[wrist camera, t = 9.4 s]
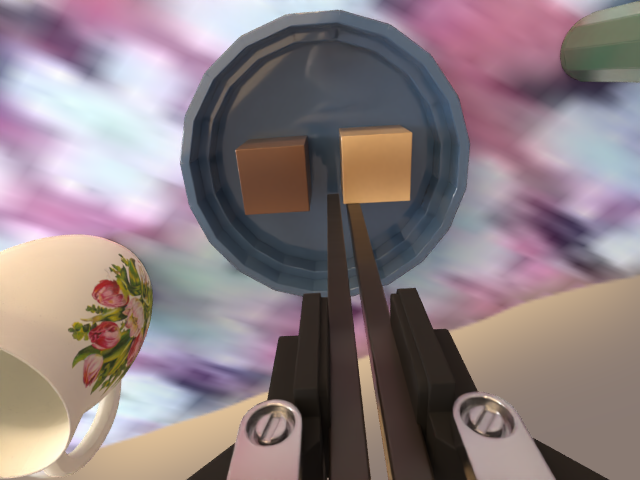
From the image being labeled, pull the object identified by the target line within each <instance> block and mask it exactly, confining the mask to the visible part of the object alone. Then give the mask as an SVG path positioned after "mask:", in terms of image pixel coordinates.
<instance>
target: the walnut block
mask: <svg viewBox="0 0 640 480" xmlns="http://www.w3.org/2000/svg"><path fill="white" fill-rule="evenodd" d="M235 152H236V159H237V165H238V171H239V178H240V184H241V191H242V197H243V204H244V210H245V215H254V214H270V213H287V212H304V211H310V204H311V196H312V186H311V174H310V161H309V149H308V136H307V135H305V136H291V137H276V138H262V139H249V140H247V141H246V142H245V143H243V144H242V145H241V146H240V147H238V148H237V149H236V150H235Z"/></svg>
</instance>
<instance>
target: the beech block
mask: <svg viewBox="0 0 640 480" xmlns="http://www.w3.org/2000/svg"><path fill="white" fill-rule="evenodd" d="M339 141H340V167H341V188H342V195H343V203H344V204H355V203H374V202H393V201H410V188H411V158H412V132H411V131H409V130H407V129H406V128H404V127H402V126H401V125H387V126H370V127H354V128H339Z"/></svg>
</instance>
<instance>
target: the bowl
mask: <svg viewBox="0 0 640 480" xmlns="http://www.w3.org/2000/svg"><path fill="white" fill-rule="evenodd" d="M387 125H401V126H402V127H404V128H406V129H407V130H409V131H411V132H412V158H411V188H410V201H393V202H374V203H360V206H361V210H362V213H363V217H364V221H365V224H366V228H367V232H368V235H369V239H370V243H371V246H372V250H373V254H374V257H375V261H376V265H377V268H378V272H379V276H380V279H381V283H382V286H385V285H388V284H390V283H392V282H393V281H394V280H396V279H397V278H399V277H400V276H402V275H403V274H405V273H406V272H408V271H409V270H411V269H412V268H414V267H415V266H417V265H418V264H419V263H421V262H422V261H423V260H424V259H425V258H426V257H427V256H428V254H429V253H430V252H431V251H432V249H433V248H434V247H435V246H436V245H437V243H438V242H439V241H440V240H441V239H442V237H443V236H444V235H445V234H446V232H447V231H448V230H449V228H450V226H451V224H452V221H453V219H454V217H455V214H456V212H457V209H458V207H459V205H460V202H461V200H462V197H463V195H464V192H465V190H466V185H467V174H468V162H469V150H470V141H469V137H468V133H467V129H466V125H465V121H464V117H463V113H462V109H461V105H460V100H459V98H458V95H457V94H456V92H455V90H454V89H453V87H452V86H451V84H450V83H449V81H448V80H447V78H446V77H445V75H444V74H443V72H442V71H441V69H440V67H439V66H438V64H437V63H436V61H435V60H434V58H433V57H432V56H431V54H429V53H428V52H427V51H425V50H424V49H423V48H421V47H420V46H419V45H417V44H416V43H415V42H413V41H412V40H411V39H409V38H408V37H407V36H405V35H404V34H403V33H401V32H400V31H399V30H397V29H396V28H395V27H393V26H392V25H389V24H387V23H384V22H381V21H377V20H374V19H370V18H367V17H363V16H360V15H356V14H353V13H349V12H346V11H342V10H340V11H339V10H330V11H318V12H306V13H294V14H288V15H287V14H286V15H284V16H282V17H280V18H278V19H275V20H273V21H271V22H269V23H267V24H265V25H263V26H261V27H259V28H256V29H254V30H252V31H250V32H248V33H246V34H244V35H242V36H241V37H239V38H238V39H237V40H236V41H235V42H234V43H233V44H232V45H231V46H230V47H229V48H228V49H227V50H226V51H225V52H224V53H223V54H222V55H221V56H220V57H219V59H218V60H217V61H216V62H215V63H214V64H213V65H212V66H211V67H210V68H209V69H208V70H207V71H206V72H205V73H204V75H203V77H202V80H201V82H200V84H199V86H198V88H197V91H196V93H195V95H194V97H193V99H192V101H191V104H190V106H189V108H188V110H187V112H186V114H185V118H184V127H183V137H182V147H181V156H180V162H181V163H180V165H181V170H182V175H183V179H184V184H185V189H186V193H187V198H188V203H189V205H190V208H191V210H192V212H193V214H194V215H195V217H196V219H197V221H198V223H199V224H200V226H201V228H202V230H203V231H204V233H205V235H206V237H207V239H208V240H209V242H210V243H211V244H212V245H213V246H214V247H215V248H216V249H217V250H218V251H219V252H220V253H221V254H222V255H223V256H224V257H225V258H226V259H227V260H228V261H229V262H230V263H231V264H232V265H233V266H234V267H235V268H236V269H237V270H238V271H240V272H242V273H243V274H245V275H247V276H249V277H251V278H253V279H255V280H256V281H258V282H260V283H262V284H264V285H266V286H268V287H269V288H271V289H273V290H276V291H280V292H285V293H289V294H294V295H298V296H303V294H306V293H321V297H328V264H327V194H339V198H340V207H341V216H342V225H343V234H344V243H345V252H346V261H347V270H348V279H349V288H350V297H351V296H355V295H358V294H360V293H359V287H358V280H357V274H356V268H355V261H354V255H353V248H352V242H351V235H350V229H349V223H348V216H347V210H346V204H344V203H343V195H342V188H341V167H340V141H339V128H354V127H370V126H387ZM305 135H307V136H308V149H309V161H310V174H311V186H312V196H311V204H310V211H304V212H287V213H270V214H254V215H245V210H244V204H243V197H242V191H241V184H240V178H239V171H238V165H237V159H236V152H235V150H236V149H237V148H238V147H240V146H241V145H242V144H243V143H245V142H246V141H247V140H249V139H262V138H276V137H291V136H305Z"/></svg>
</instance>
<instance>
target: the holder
mask: <svg viewBox="0 0 640 480" xmlns="http://www.w3.org/2000/svg"><path fill="white" fill-rule="evenodd" d="M560 59H561V64H562V67H563V69H564V71H565V72H566V74H567V75H568V76H570V77H571V78H573V79H575V80H579V81H581V82H639V83H640V1H636V2H632V3H628V4H624V5H620V6H616V7H612V8H608V9H604V10H600V11H596V12H593V13H592V14H590V15H588V16H585V17H584V18H582V19H581V20H579V21H578V22H577V23H576V24H575V25H574V26H573V27H572V28H571V29H570V30H569V32H568V33H567V35H566V37H565V39H564V41H563V43H562V47H561V53H560Z"/></svg>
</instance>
